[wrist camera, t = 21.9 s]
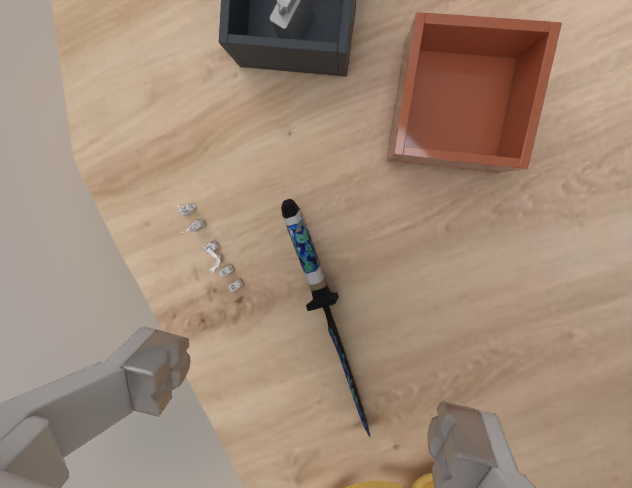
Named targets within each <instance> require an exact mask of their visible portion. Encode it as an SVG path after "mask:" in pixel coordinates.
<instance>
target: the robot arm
mask: <svg viewBox="0 0 632 488" xmlns="http://www.w3.org/2000/svg"><path fill="white" fill-rule="evenodd" d="M188 348H189V339H188V338H185V337H182V336H178V335H175V334H171V333H167V332H164V331H160V330H156V329H152V328H148V327H142V328H140V329H138V330H137V331H136V332H135V333H134V334H133V335H132V336H131V337H130V338H129V339H128V340H127V341H126V342H125V343H124V344H123V345H122V346H121V347H120V348H119V349H118V350H117V351H116V352H115V353H114V354H112V355H111V356H110V358H108V359H107V360H106V361H105V362H104V363H101V362H98V363H96V364H93V365H91V366H89V367H86V368H84V369H82V370H79V371H77V372H74V373H72V374H70V375H67V376H65V377H62V378H60V379H58V380H56V381H53V382H50V383H48V384H46V385H43V386H41V387H39V388H36V389H34V390H32V391H29V392H27V393H24V394H22V395H20V396H17V397H15V398H12V399H10V400H8V401H5V402H3V403H1V404H0V488H61V487H62V486H63V484H64V483H65V482H66V481H67V479H68V478H69V471H68V468H67V466H66V463H65V461H64V457H65V456H67V455H68V454H70V453H71V452H73V451H74V450H76V449H77V448H79V447H80V446H82V445H84V444H85V443H86V442H88V441H90V440H91V439H92V438H94V437H96V436H97V435H99V434H100V433H102V432H103V431H105V430H106V429H108V428H109V427H111V426H112V425H114V424H115V423H117V422H118V421H120V420H121V419H123V418H124V417H126V416H127V415H129V414H130V413H132V410H134V411H138V412H142V413H146V414H150V415H154V416H158V417H159V415H160V414H161V413H162V411H163V410H164V409H165V407H166V406H167V404H168V403H169V401H170V400H171V398H172V390H173V389H175V388H177V387H179V386H180V385H181V384H182V382H183V381H184V379H185V377H186V375H187V373H188V370H189V366H190V356H189V354H188V353H187V352H186V350H187V349H188ZM437 413H438V416H436V417H434V418H432V420H431V422H430V424H429V429H428V449H429V453H430V454H431V455H432V457H433V458H434V460H435V462H434V463H433V465H432V467H431V470H432V477H433V484H434V488H536V487H535V486H534V485H533V483H532V482H531V481H530V480H529V479H528V478H527V477H526V476H525V475H523V474H520V473H519V471H518V469H517V466H516V463H515V461H514V458H513V455H512V453H511V450H510V448H509V445H508V442H507V440H506V437H505V434H504V432H503V429H502V427H501V424H500V421H499V419H498V417H497V416H496V415H495V414H493V413H489V412H485V411H481V410H476V409H474V408H470V407H466V406H461V405H457V404H453V403H449V402H444V401H442V402H441V403H439V405H438V407H437Z"/></svg>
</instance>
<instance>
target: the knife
mask: <svg viewBox="0 0 632 488" xmlns="http://www.w3.org/2000/svg"><path fill="white" fill-rule="evenodd" d="M281 209H282V215H283V219H284V221H285V224H286V227H287V229H288V232H289V234H290V237H291V240H292V242H293V245H294V247H295V250H296V253H297V255H298V258H299V260H300V263H301V266H302V268H303V271H304V273H305V276H306V279H307V281H308V284H309V286H310V289H311V292H312V296H313V300H312V301H311V302H309V303H308V304H307V305H306V307H307V310H308V311H311V310H315V309H318V308H322V307H323V309H324V312H325V314H326V318H327V322H328V331H329V333H330V336H331V338H332V340H333V343H334V345H335V347H336V350H337V352H338V355H339V358H340V361H341V364H342V367H343V369H344V372H345V375H346V378H347V381H348V384H349V387H350V390H351V393H352V396H353V399H354V402H355V404H356V407H357V410H358V413H359V416H360V418H361V421H362V423H363V426H364V428H365V430H366V431H367V433H368V435H369V437H370V432H369V428H368V424H367V421H366V417H365V414H364V411H363V408H362V405H361V401H360V398H359V395H358V392H357V389H356V385H355V382H354V379H353V376H352V373H351V370H350V366H349V363H348V360H347V357H346V354H345V351H344V348H343V345H342V342H341V339H340V336H339V333H338V330H337V327H336V325H335V322H334V319H333V316H332V313H331V310H330V307H329V306H330V305H333V304H335V303H336V302H337V300H338V298H339V297H338V293H330V291H329V288H328V285H327V283H326V280H325V277H324V274H323V271H322V268H321V266H320V263H319V260H318V257H317V254H316V251H315V248H314V246H313V243H312V240H311V237H310V234H309V231H308V228H307V226H306V223H305V220H304V217H303V214H302V212H301V210H300V208H299V207H298V206H297V204H296V203H295V202H294V200H292V199H288V200H285V201H283V203H282V207H281Z"/></svg>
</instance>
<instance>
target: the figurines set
mask: <svg viewBox="0 0 632 488" xmlns="http://www.w3.org/2000/svg"><path fill="white" fill-rule="evenodd" d="M177 205H178V204H177ZM180 205H181V204H180ZM182 205H183V204H182ZM178 209H179V212H180V213H181V214H182V216H187V215H189V214H190V213H192V212H193V211H195V210H196V207H195V205H194V204H192V203H191V204H187V205H185V206H183V207H182V208H180V207H179V206H178ZM177 212H178V211H177ZM179 212H178V213H179ZM172 213H173V212H172ZM203 226H205V223H204V221H203V220H202V219H200V220H197V221H195V222H194V223H192V224H190V225H189V227H190V228H191V229H190V228H188V229H187V230H185V231H184V232H187V231H191V230H192V231H197V230H199V229H200V228H202V227H203ZM184 232H182V233H184ZM182 233H180V234H182ZM218 248H219V245H218V243H217V242H216V241H215V242H212V243H211V244H210V243H209V244H207V246H206V247H204V250H205V252H206V253H207V254H208V253H210V254H211V255H212V256H213V257H214V258H215V259H216V260H217V263H216V264H215V265H214V266H213V267H212V268H211V269H209V270H210V271H211V272H213V271H214V270H215V269H216V268H217V267H219V266H220V260H221V259H220V258H221V256H220V255H219V256H217V255H216V254H215V253H214V252H213V251H214V250H216V249H218ZM233 271H234V269H233V267H232V266H231V265H228V266H227V267H225V268H224V269H222V270H220V271H219V274H220V275H221V277H224V276H226V275H228V274H229V273H231V272H233ZM242 285H243V283H242V281H241V280H240V279H238V280H236V281H235V282H233V283H231V284H230V285H229V286H228V288H229V290H230V291H231V292H233V291H234V290H236V289H238V288H240V287H241V286H242Z"/></svg>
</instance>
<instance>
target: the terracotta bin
mask: <svg viewBox="0 0 632 488" xmlns="http://www.w3.org/2000/svg"><path fill="white" fill-rule="evenodd" d="M561 24H562V23H560V22H548V21H534V20H520V19H506V18H491V17H477V16H463V15H449V14H435V13H419V12H417V13H416V15H415V17H414V20H413V23H412V26H411V28H410V31H409V34H408V36H407V39H406V42H405V45H404V52H403V58H402V65H401V71H400V78H399V84H398V91H397V97H396V104H395V110H394V117H393V123H392V130H391V136H390V142H389V149H388V155H387V161H396V162H405V163H414V164H423V165H432V166H441V167H450V168H459V169H468V170H477V171H486V172H495V173H500V172H507V171H515V170H523V169H528V166H529V162H530V157H531V153H532V149H533V144H534V140H535V136H536V132H537V127H538V123H539V119H540V114H541V110H542V106H543V101H544V97H545V93H546V89H547V84H548V80H549V76H550V71H551V67H552V63H553V59H554V54H555V50H556V46H557V41H558V37H559V33H560V29H561Z"/></svg>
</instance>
